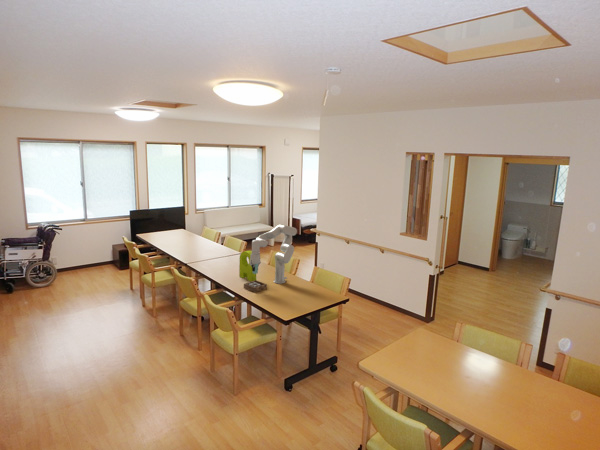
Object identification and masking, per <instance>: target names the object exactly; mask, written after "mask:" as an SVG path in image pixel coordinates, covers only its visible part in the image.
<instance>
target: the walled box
mask: <svg viewBox="0 0 600 450" xmlns="http://www.w3.org/2000/svg"><path fill="white" fill-rule="evenodd" d="M267 288H268V285H267V283H265V282H262V281H259V280H257V279H256V280H255V281H249V282H245V283H243V289H245V290H247V291H250V292H253V293H256V292H261V291H263V290H267Z"/></svg>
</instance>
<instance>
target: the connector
mask: <svg viewBox="0 0 600 450" xmlns="http://www.w3.org/2000/svg"><path fill="white" fill-rule="evenodd" d="M254 267H255V271H253V273H254V274H256V275H257V274H258V273H259V266H258V264H255V266H254Z"/></svg>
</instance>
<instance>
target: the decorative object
mask: <svg viewBox="0 0 600 450" xmlns="http://www.w3.org/2000/svg"><path fill="white" fill-rule="evenodd" d="M251 254H252V250H245V251H242V252H240V255H239V270H238V271H239V274H238V275H239V278H241V279H245V278H247V279H246V280H247V281H249V282H252V281H255V280H257V274H254V273H253V271H252V266H251V265H250V256H251Z"/></svg>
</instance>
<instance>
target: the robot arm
mask: <svg viewBox="0 0 600 450" xmlns="http://www.w3.org/2000/svg"><path fill="white" fill-rule="evenodd" d="M281 234H283V235H284V237H283V241H282V243H281V245H280V248H279V249H280V251H281V252H280V251H279V252H278V251H277V252H276V253H275V254H274V262H275V271H274V279H273V283H275V284H278V285H279V284H285V283H286V279H288V277H287V276H285V267H286V266H285V264H289V262H290V261H291V259H292V256H293V255H294V253H295V247H294V245H292V242H293V236H296V235H297V234H298V229H297V228H296V227H294V226H289V225H285V224H280V223H279V224H277V225H276V226H275V227H274V228H273V229H271V230H270V231H267V232H265V233H262V234H260V235H259V236H257V237H256V238H255V239H252V241H251V251H252V254H251V256H250V265H251V266H252V271H255V267H254V266H255V264H258V267H259V266H260V264H261V254H260V253H261V250H260V248H266V247H267V246H268V244H269V242H268V240H273V239H276V238H277V237H278V236H280V235H281Z"/></svg>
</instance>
